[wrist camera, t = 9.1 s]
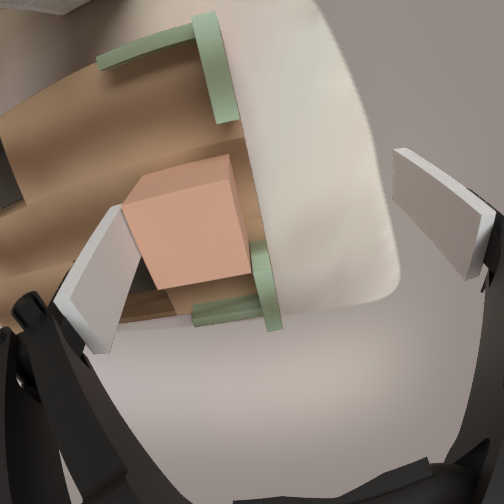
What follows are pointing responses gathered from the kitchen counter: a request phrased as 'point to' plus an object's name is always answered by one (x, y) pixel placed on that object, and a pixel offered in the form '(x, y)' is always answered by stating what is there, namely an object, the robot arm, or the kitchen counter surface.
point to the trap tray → (126, 170)
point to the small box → (43, 5)
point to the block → (189, 223)
